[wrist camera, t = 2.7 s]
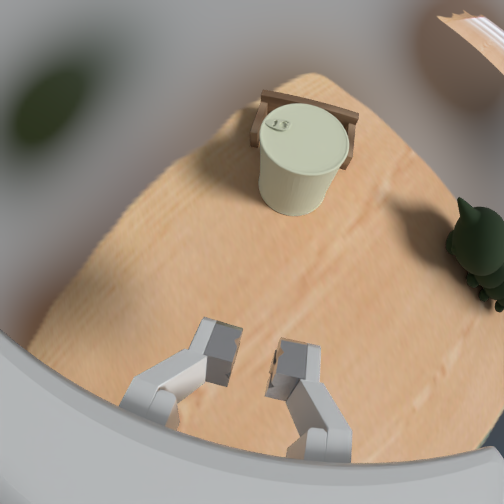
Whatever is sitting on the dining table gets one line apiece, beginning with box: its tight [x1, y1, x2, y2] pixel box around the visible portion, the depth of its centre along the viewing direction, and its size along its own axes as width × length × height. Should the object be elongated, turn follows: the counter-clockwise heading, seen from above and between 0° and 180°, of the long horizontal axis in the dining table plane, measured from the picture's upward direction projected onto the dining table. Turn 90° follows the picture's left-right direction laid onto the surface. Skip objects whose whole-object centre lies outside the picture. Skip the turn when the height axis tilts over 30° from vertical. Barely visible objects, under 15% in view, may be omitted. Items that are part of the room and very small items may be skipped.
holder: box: [250, 90, 359, 170], centre depth 35 cm, size 7×14×5 cm, turn 75°
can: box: [258, 103, 349, 216], centre depth 31 cm, size 9×9×12 cm
